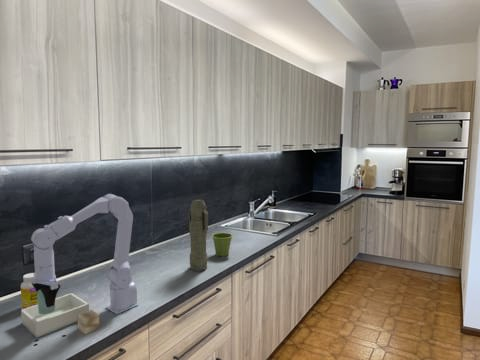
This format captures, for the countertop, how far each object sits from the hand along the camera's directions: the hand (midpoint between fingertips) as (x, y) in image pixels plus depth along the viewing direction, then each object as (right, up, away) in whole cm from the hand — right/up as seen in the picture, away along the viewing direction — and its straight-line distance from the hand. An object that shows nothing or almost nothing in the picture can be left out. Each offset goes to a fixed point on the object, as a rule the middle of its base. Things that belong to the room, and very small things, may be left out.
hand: (46, 303), depth 115 cm
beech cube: (+13, -9, +2) cm, 16 cm away
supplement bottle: (-15, -8, +17) cm, 24 cm away
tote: (-1, -9, +7) cm, 11 cm away
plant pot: (+55, -1, +79) cm, 96 cm away
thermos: (+44, -3, +58) cm, 73 cm away
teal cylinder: (0, -2, 0) cm, 2 cm away
